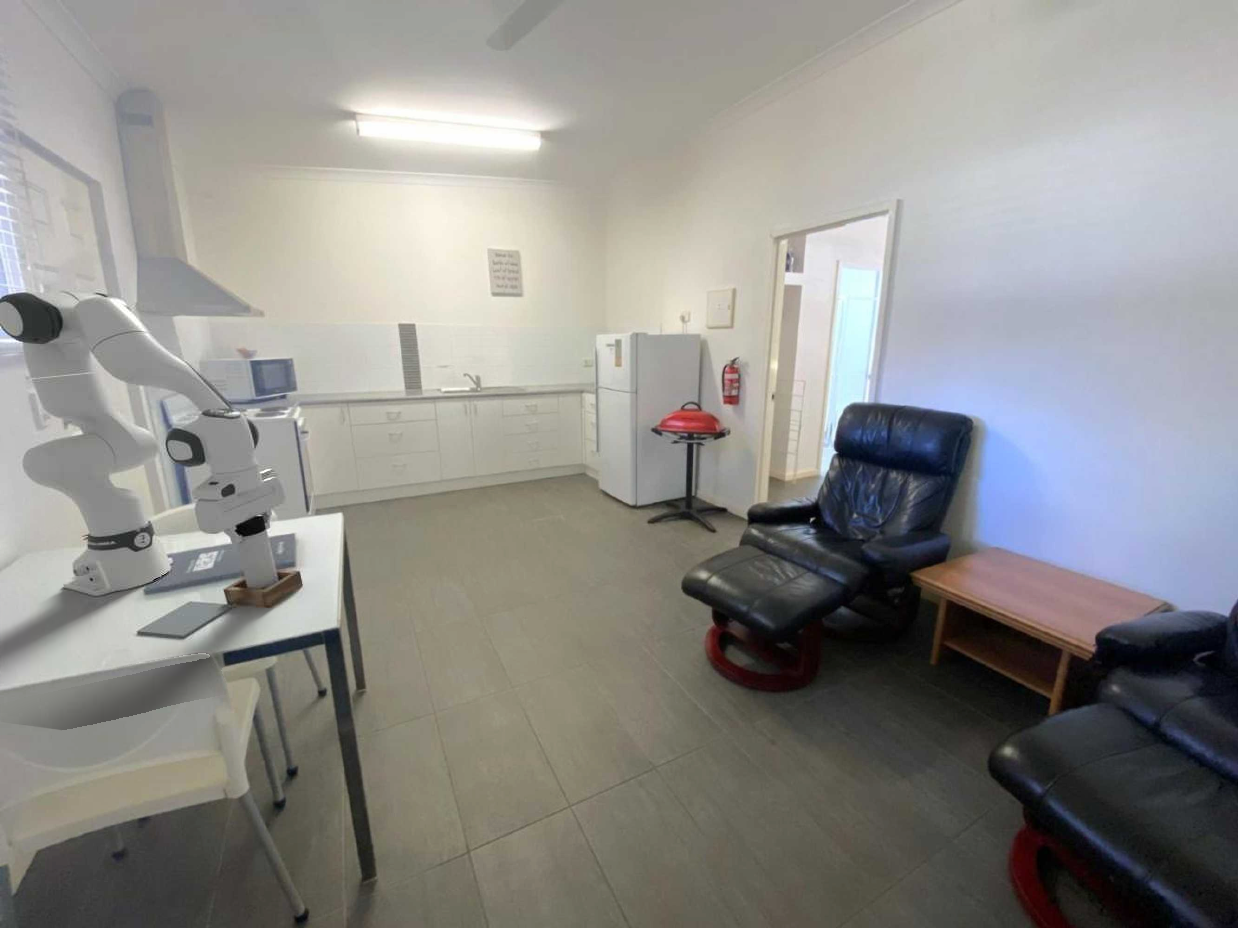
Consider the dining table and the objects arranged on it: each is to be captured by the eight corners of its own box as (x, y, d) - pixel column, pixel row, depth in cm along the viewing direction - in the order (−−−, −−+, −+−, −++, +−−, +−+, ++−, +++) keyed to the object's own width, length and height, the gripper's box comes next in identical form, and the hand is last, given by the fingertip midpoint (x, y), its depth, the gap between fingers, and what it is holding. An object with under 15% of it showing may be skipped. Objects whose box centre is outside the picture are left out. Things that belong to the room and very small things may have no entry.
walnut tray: (227, 604, 121) (223, 589, 120) (263, 582, 131) (259, 568, 129) (269, 607, 119) (265, 592, 118) (302, 585, 129) (299, 570, 128)
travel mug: (266, 602, 121) (247, 524, 115) (243, 600, 122) (223, 522, 117) (288, 589, 127) (270, 514, 121) (265, 586, 128) (247, 512, 123)
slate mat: (137, 633, 110) (136, 631, 110) (190, 603, 122) (190, 601, 121) (184, 637, 108) (183, 635, 108) (234, 606, 120) (233, 604, 119)
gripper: (263, 466, 127) (275, 518, 131) (183, 494, 107) (200, 554, 111) (286, 467, 126) (297, 519, 130) (209, 495, 106) (225, 555, 110)
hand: (251, 535), depth 120 cm, fingers closed on travel mug, 6 cm apart
